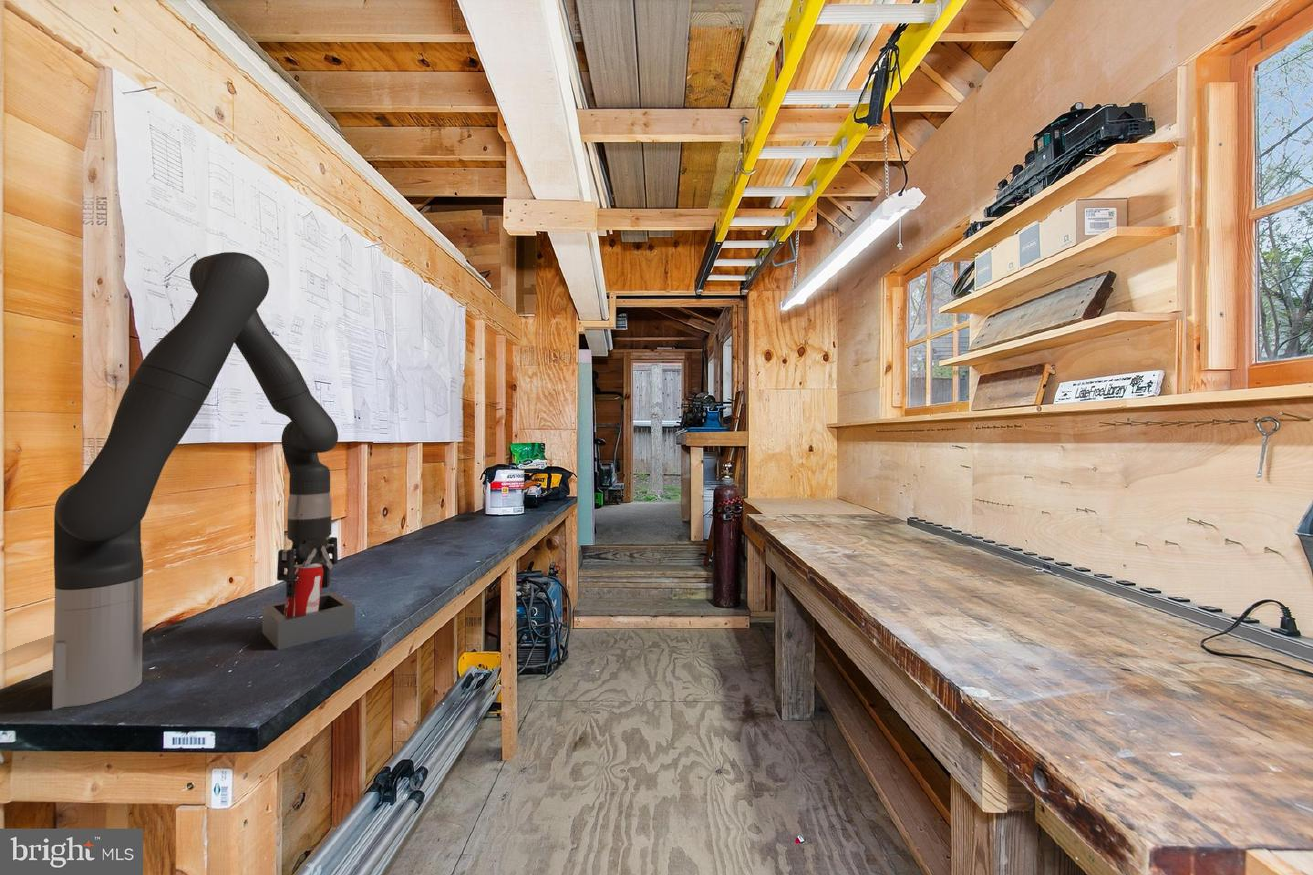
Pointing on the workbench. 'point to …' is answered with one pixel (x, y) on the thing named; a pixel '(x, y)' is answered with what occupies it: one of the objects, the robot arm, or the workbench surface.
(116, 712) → the workbench surface
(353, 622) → the socket block
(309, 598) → the beverage can
